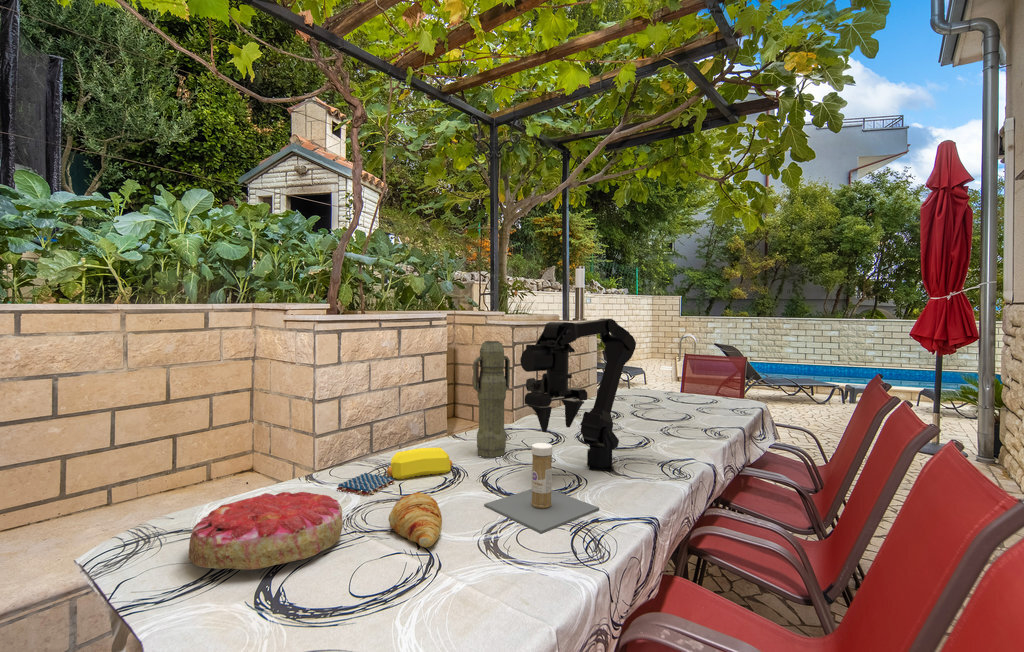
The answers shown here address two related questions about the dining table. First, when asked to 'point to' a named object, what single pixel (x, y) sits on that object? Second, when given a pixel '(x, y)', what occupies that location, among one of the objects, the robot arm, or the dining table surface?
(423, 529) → the croissant
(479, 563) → the dining table surface
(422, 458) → the yellow elongated block
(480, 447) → the thermos
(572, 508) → the mat
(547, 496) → the sprinkles bottle
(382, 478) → the woven mat
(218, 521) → the cake
